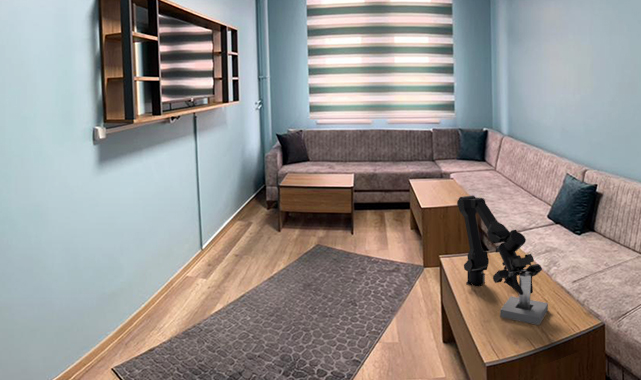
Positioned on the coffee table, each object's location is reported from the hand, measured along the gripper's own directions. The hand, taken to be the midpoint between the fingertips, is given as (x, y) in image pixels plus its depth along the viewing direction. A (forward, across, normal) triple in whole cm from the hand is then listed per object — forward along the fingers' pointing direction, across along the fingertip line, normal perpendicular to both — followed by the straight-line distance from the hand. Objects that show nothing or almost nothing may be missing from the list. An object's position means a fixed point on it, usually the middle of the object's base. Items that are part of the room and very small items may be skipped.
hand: (527, 293), depth 194 cm
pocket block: (+5, 0, +7) cm, 9 cm away
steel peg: (+4, 0, +6) cm, 7 cm away
